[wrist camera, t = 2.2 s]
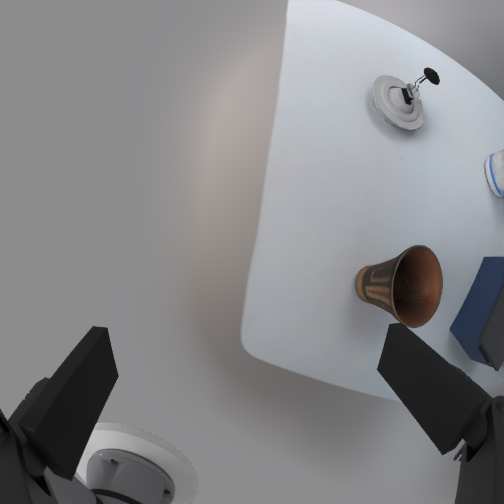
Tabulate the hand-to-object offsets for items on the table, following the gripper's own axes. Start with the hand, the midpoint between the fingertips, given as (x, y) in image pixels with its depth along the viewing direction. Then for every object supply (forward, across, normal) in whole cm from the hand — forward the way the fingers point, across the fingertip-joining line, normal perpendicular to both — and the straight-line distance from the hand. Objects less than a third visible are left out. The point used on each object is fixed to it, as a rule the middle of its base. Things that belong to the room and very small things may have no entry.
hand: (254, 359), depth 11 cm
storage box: (+20, -45, +10) cm, 51 cm away
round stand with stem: (+28, -24, -22) cm, 43 cm away
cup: (+21, -19, +4) cm, 28 cm away
